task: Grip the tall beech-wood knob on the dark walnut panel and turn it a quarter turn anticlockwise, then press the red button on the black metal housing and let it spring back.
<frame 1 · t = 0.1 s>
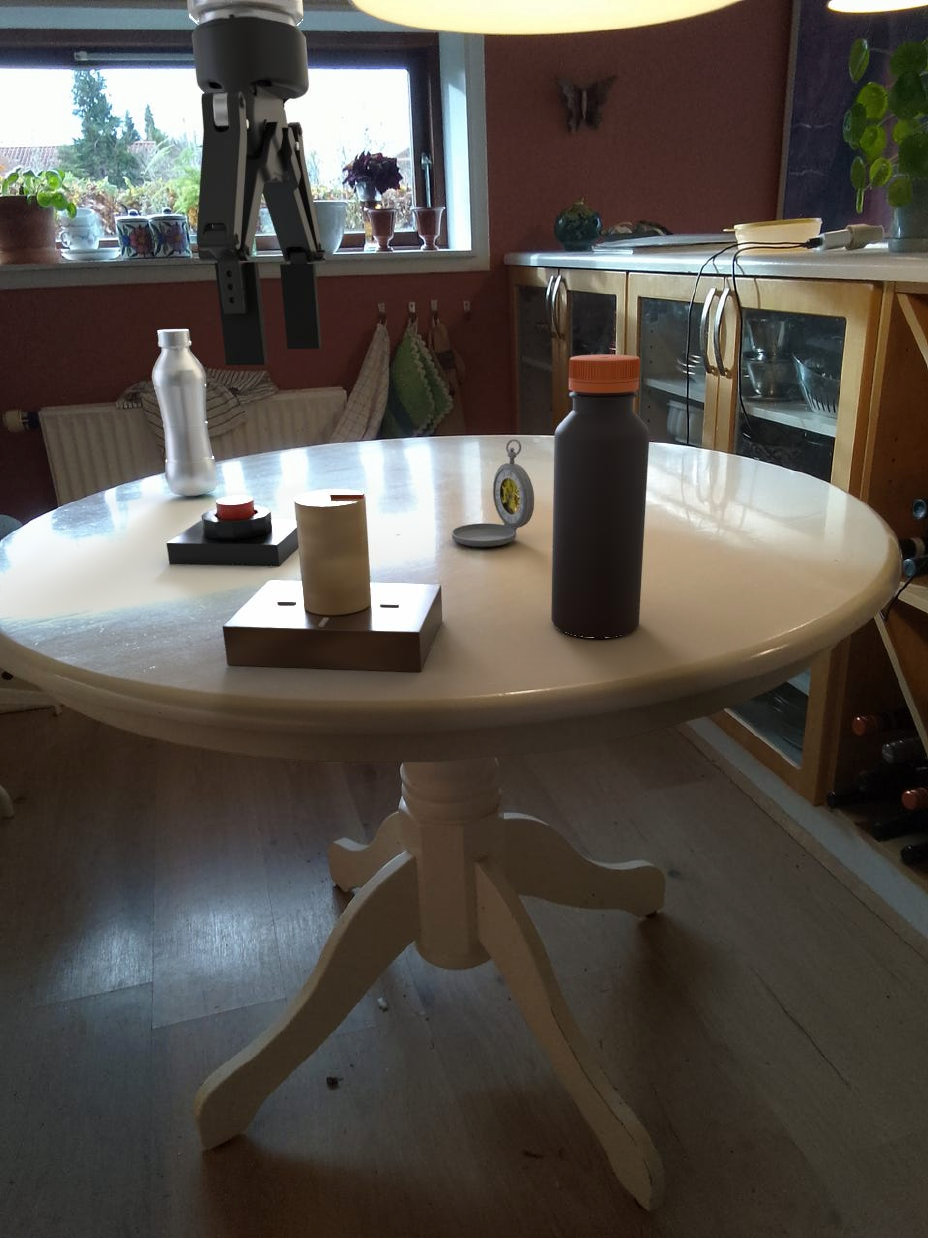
hand: (278, 356, 67), 20 cm above the table, tool pointing down, fingers open, 13 cm apart
knob panel: (340, 641, 67), on the table
pocket watch: (494, 541, 92), on the table
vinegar: (594, 626, 69), on the table
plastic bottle: (194, 496, 113), on the table
wood knob: (333, 549, 64), point 7 cm above the table, hinge at 0.0°
button box: (240, 552, 89), on the table
red button: (235, 508, 88), point 4 cm above the table, slide at 0.1 cm
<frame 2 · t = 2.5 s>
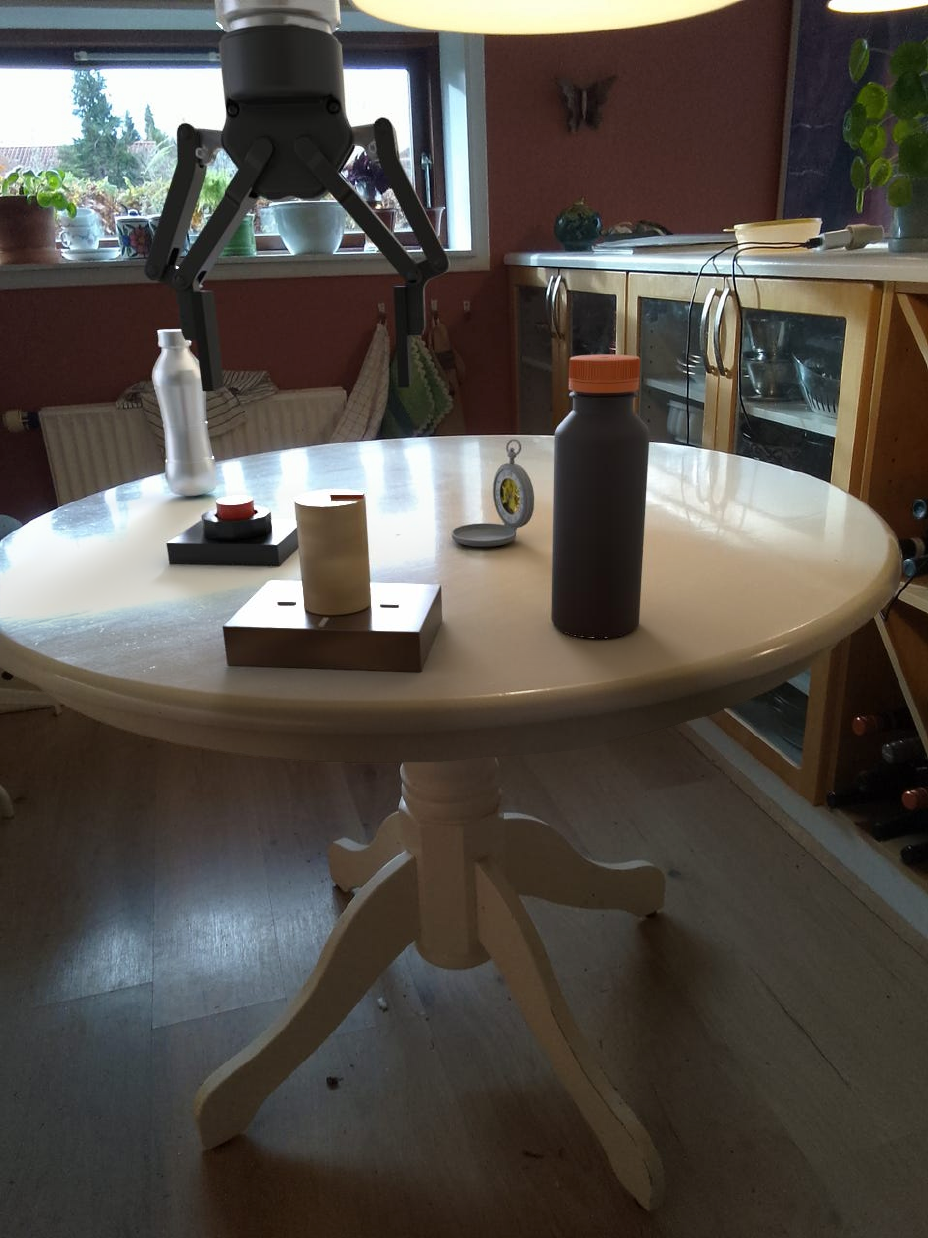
hand: (309, 387, 63), 18 cm above the table, tool pointing down, fingers open, 13 cm apart
nothing on the table moved.
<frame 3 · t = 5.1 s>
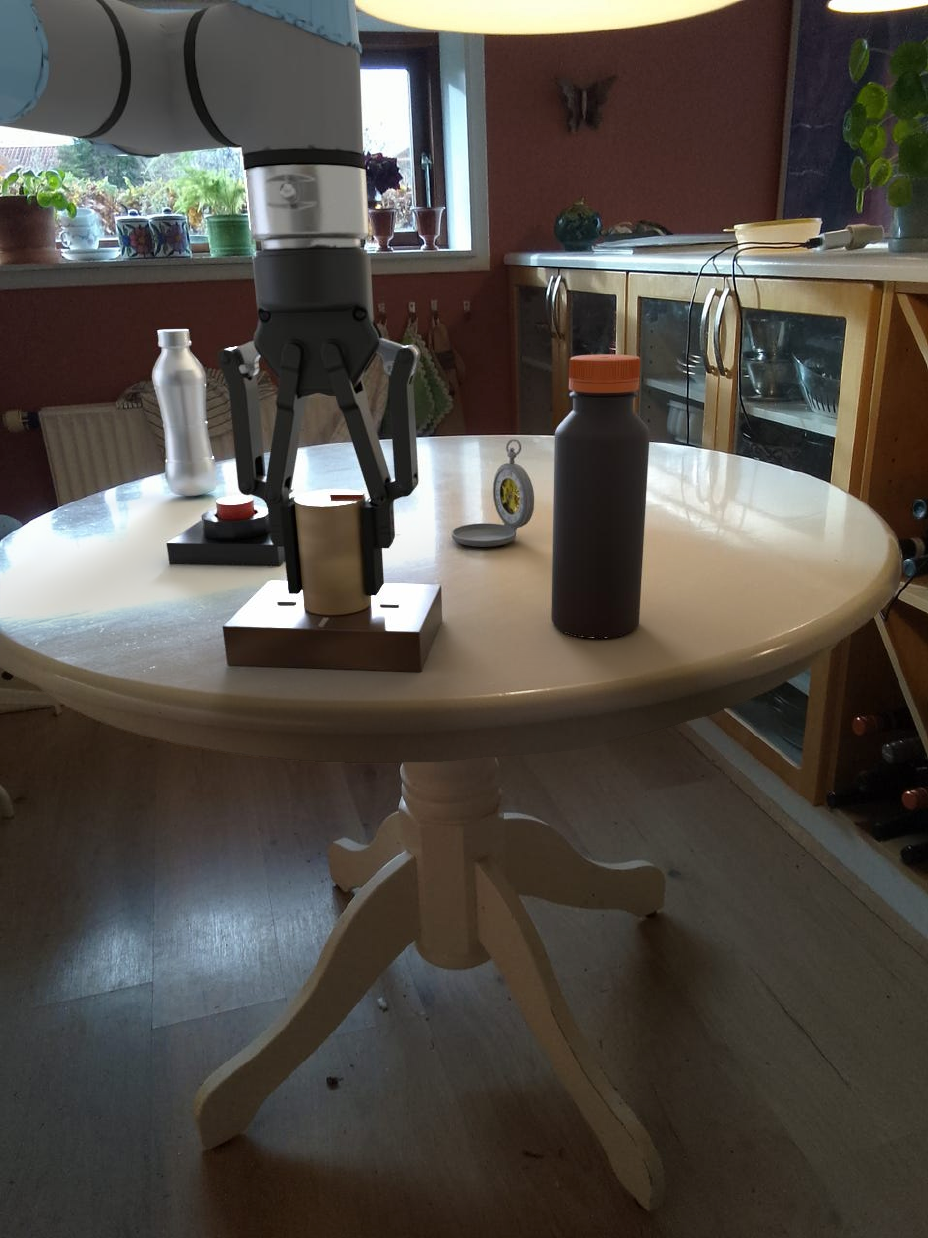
hand: (336, 588, 66), 4 cm above the table, tool pointing down, fingers closed on wood knob, 5 cm apart
wood knob: (333, 549, 64), point 7 cm above the table, hinge at 0.0°, touching gripper
everything else where it was.
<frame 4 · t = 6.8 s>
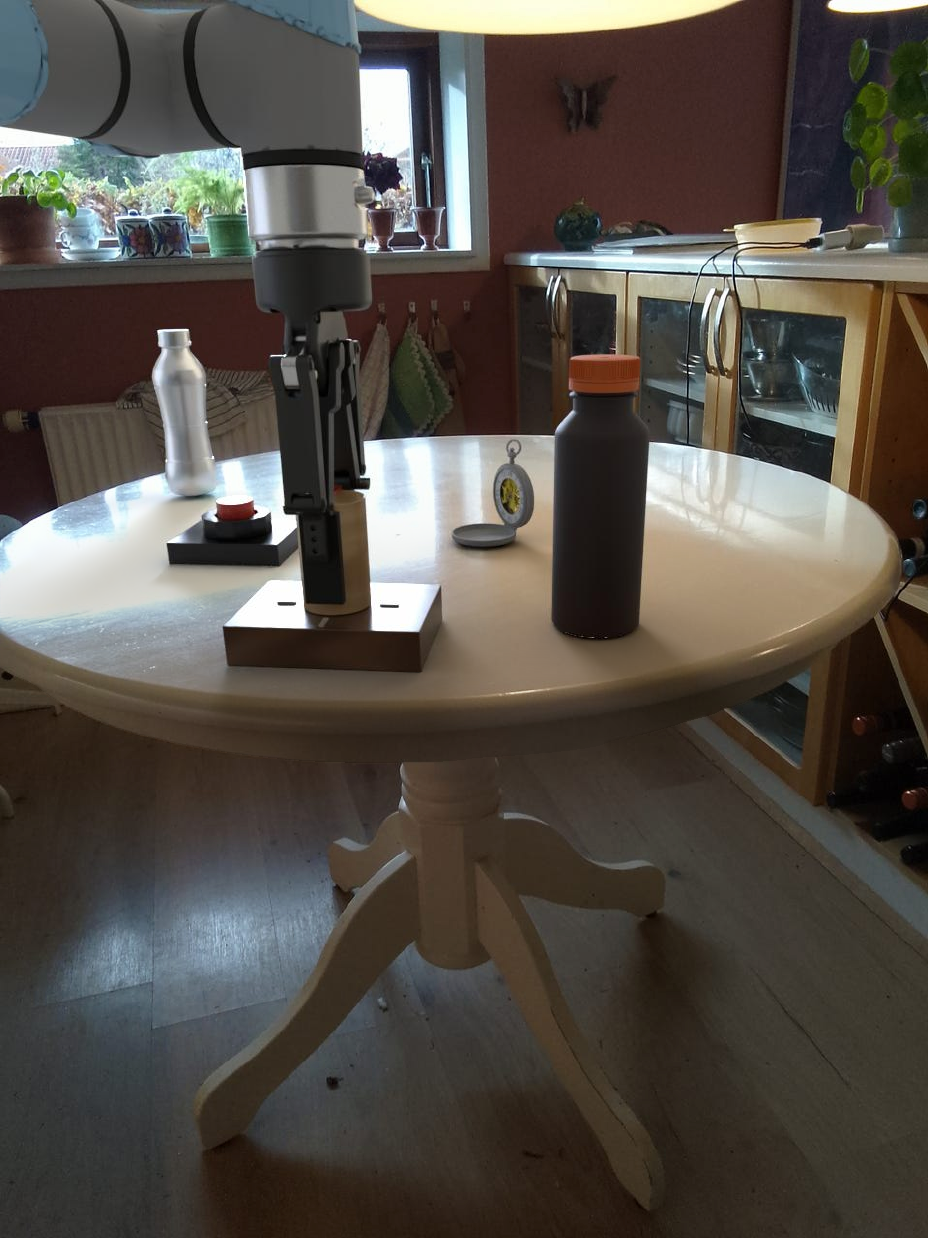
hand: (336, 588, 66), 4 cm above the table, tool pointing down, fingers closed on wood knob, 5 cm apart
wood knob: (333, 549, 64), point 7 cm above the table, hinge at 90.6°, touching gripper
everything else where it was.
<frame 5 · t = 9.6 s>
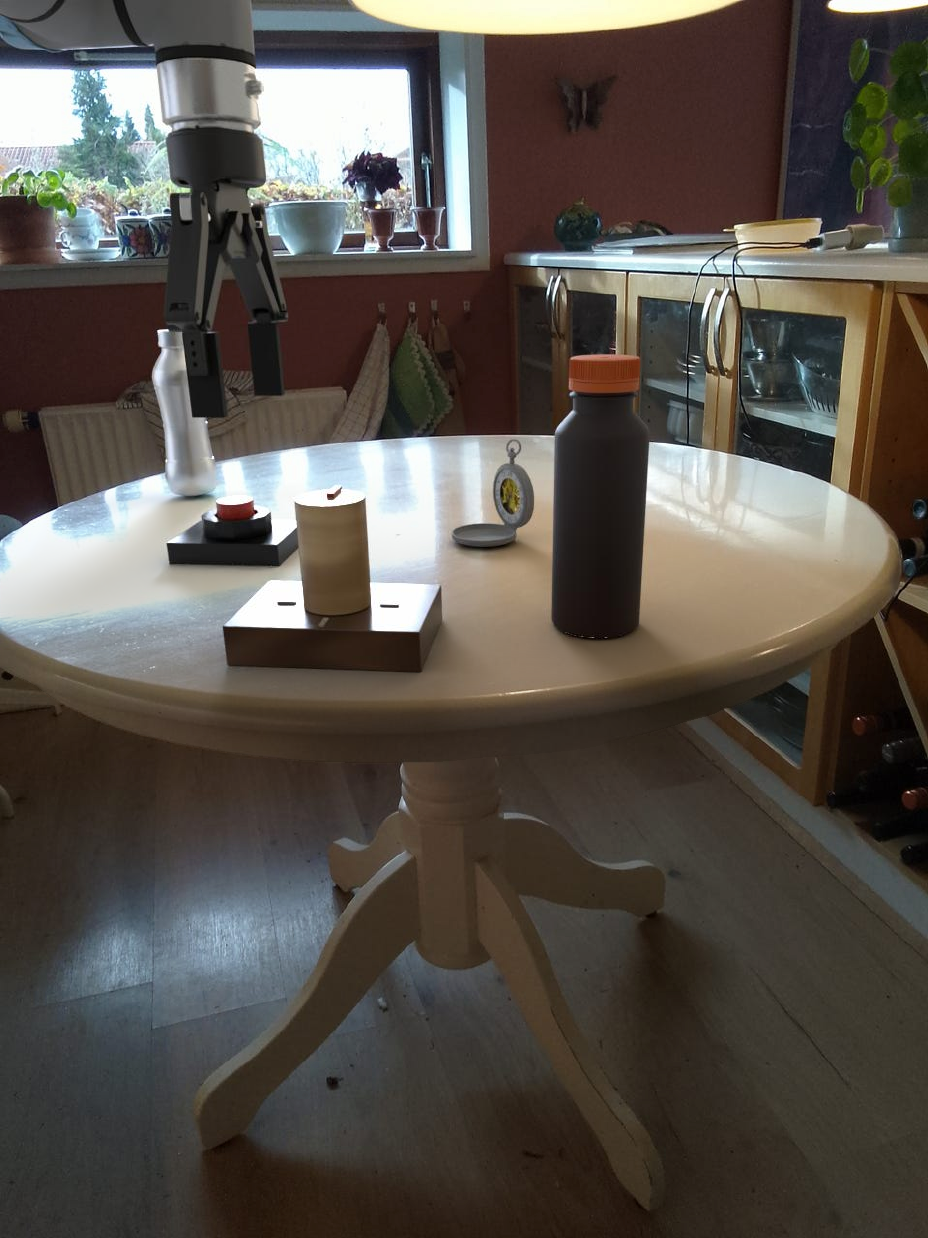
hand: (242, 405, 78), 15 cm above the table, tool pointing down, fingers open, 13 cm apart
wood knob: (333, 549, 64), point 7 cm above the table, hinge at 90.5°
everything else where it was.
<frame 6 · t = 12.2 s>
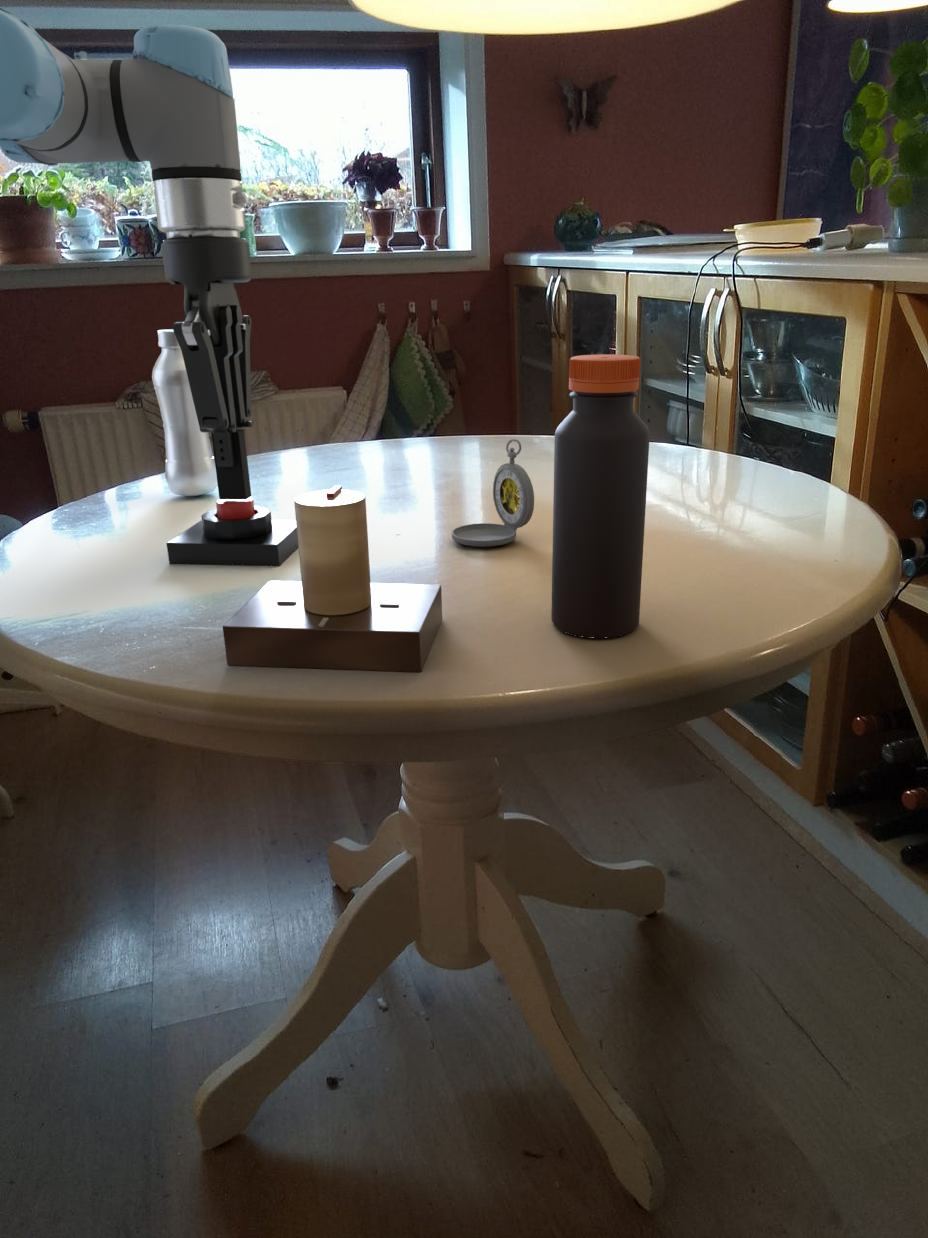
hand: (235, 497, 87), 6 cm above the table, tool pointing down, fingers closed
red button: (235, 508, 88), point 4 cm above the table, slide at 0.1 cm, touching gripper
everything else where it was.
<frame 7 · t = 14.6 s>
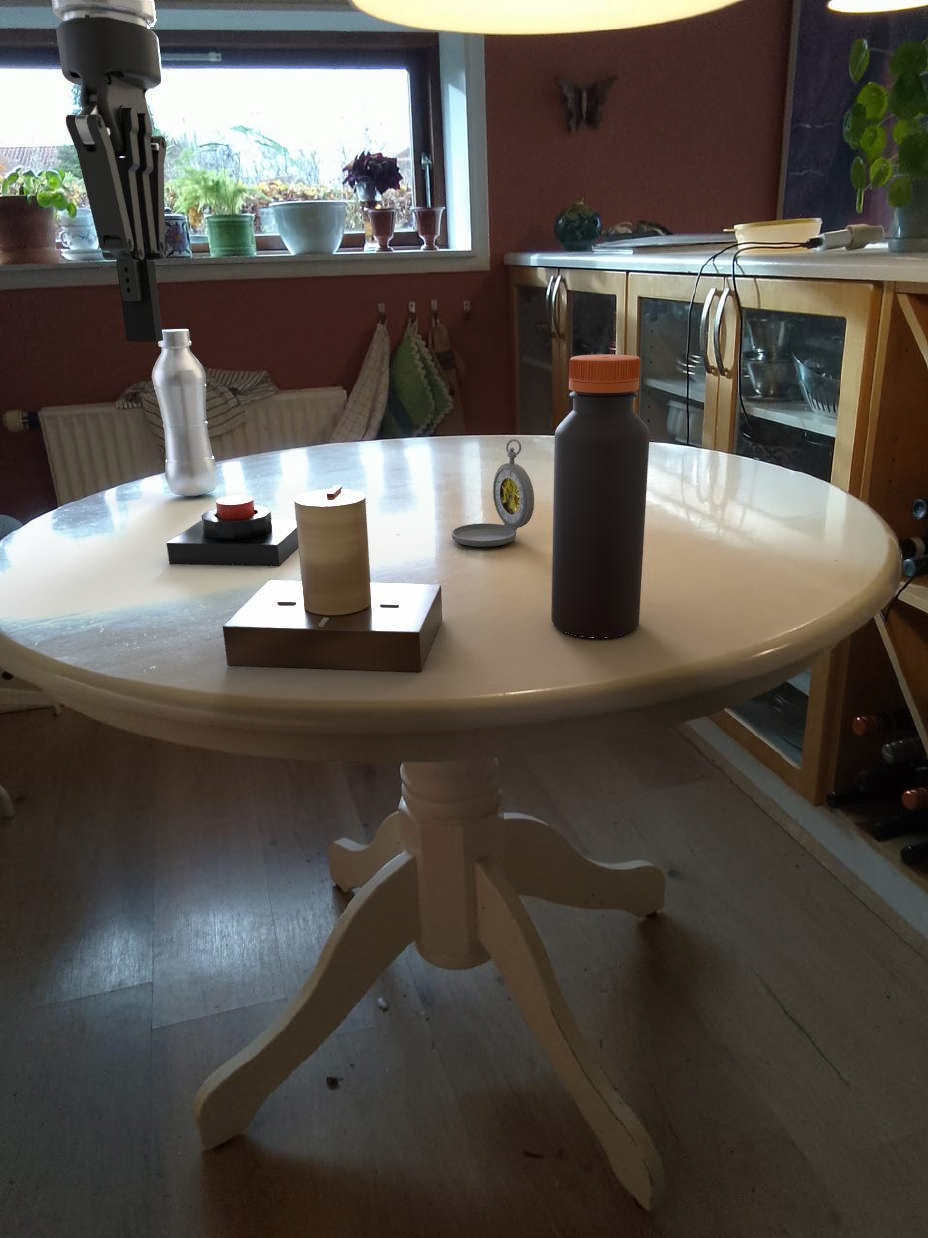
hand: (145, 340, 78), 21 cm above the table, tool pointing down, fingers closed
red button: (235, 508, 88), point 4 cm above the table, slide at 0.1 cm
everything else where it was.
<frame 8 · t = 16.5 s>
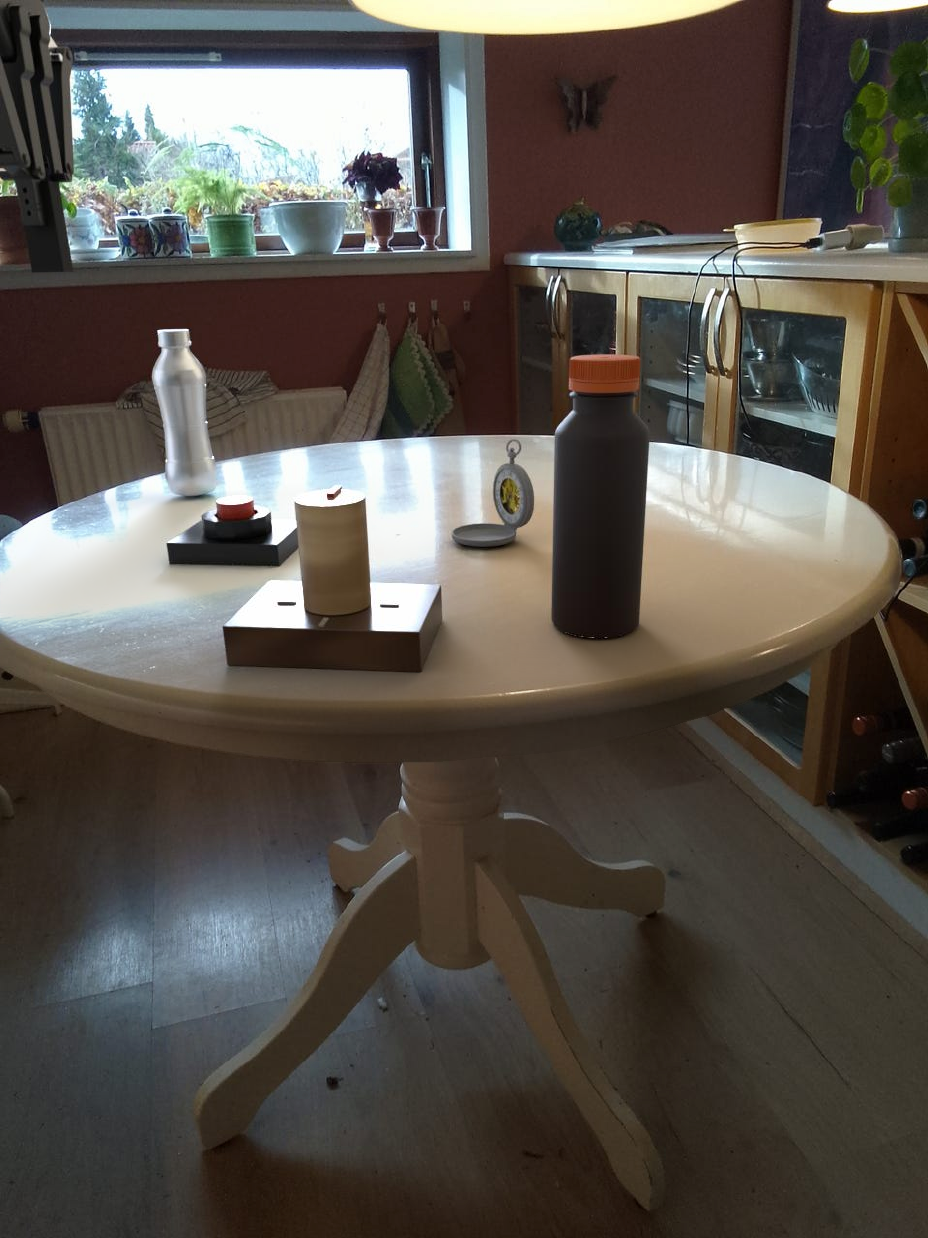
hand: (52, 271, 72), 26 cm above the table, tool pointing down, fingers closed
nothing on the table moved.
at the end: wood knob at +90° (first picture: +0°); red button pushed in 1.0 cm at the most during the clip, back to where it started at the end; red button slide at 0.1 cm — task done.
